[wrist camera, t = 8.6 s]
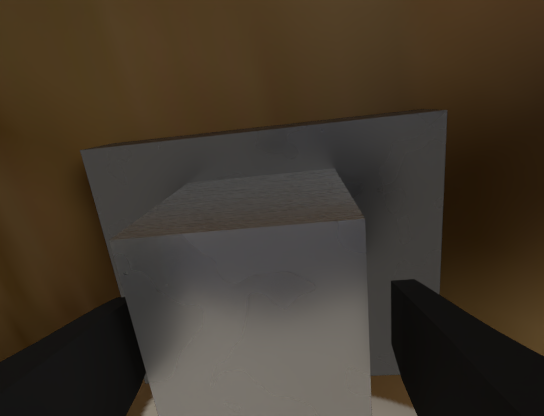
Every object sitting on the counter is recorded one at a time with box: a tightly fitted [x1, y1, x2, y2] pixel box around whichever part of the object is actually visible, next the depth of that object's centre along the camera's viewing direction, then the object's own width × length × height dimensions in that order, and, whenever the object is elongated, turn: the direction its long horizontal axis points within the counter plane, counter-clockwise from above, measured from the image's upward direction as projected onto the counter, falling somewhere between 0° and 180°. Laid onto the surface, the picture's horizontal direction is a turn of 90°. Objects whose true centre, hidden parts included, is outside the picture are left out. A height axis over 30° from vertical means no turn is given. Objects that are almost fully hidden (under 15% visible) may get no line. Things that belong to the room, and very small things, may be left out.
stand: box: [80, 109, 447, 383], centre depth 13 cm, size 12×10×2 cm
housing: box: [109, 168, 372, 416], centre depth 10 cm, size 7×5×5 cm
